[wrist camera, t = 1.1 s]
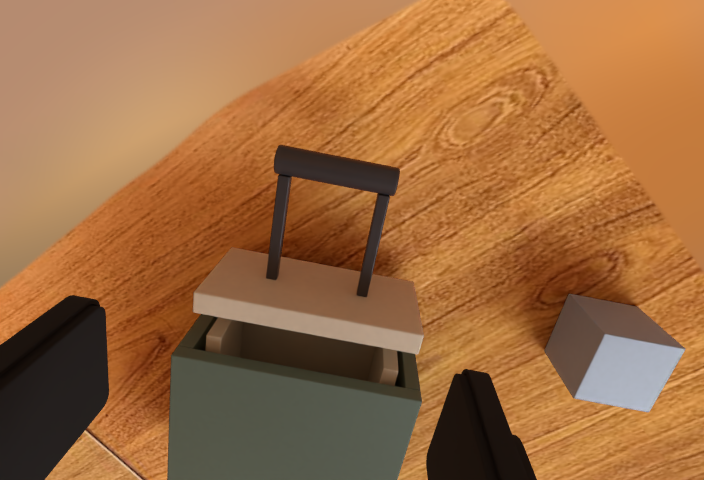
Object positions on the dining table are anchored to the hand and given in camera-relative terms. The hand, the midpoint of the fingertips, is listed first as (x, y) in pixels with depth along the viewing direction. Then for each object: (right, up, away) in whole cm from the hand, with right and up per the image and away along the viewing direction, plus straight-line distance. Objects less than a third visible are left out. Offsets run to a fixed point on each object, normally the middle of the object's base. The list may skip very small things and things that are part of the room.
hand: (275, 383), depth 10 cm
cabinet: (-2, -7, +20) cm, 21 cm away
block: (+17, -2, +17) cm, 25 cm away
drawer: (0, -1, +16) cm, 16 cm away
